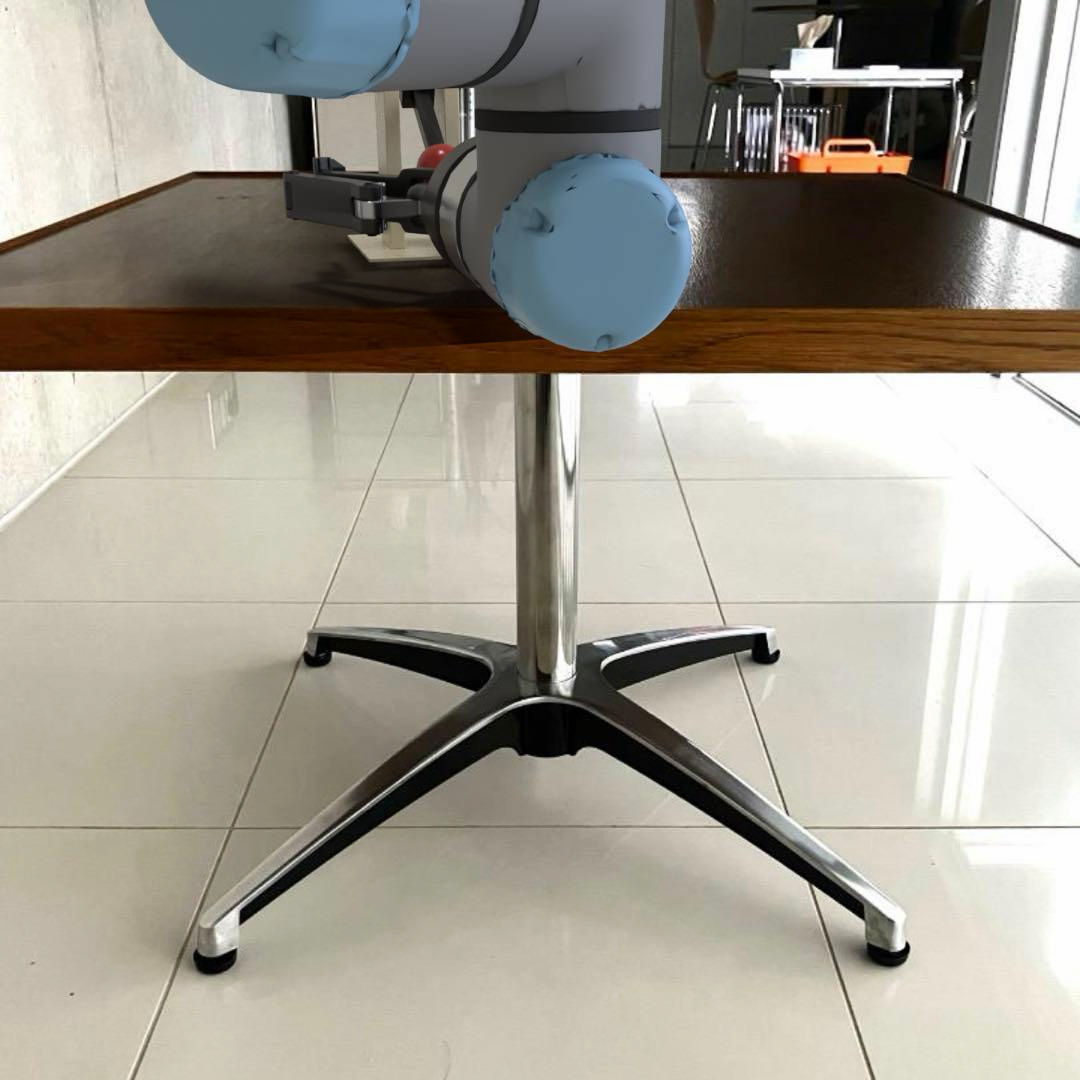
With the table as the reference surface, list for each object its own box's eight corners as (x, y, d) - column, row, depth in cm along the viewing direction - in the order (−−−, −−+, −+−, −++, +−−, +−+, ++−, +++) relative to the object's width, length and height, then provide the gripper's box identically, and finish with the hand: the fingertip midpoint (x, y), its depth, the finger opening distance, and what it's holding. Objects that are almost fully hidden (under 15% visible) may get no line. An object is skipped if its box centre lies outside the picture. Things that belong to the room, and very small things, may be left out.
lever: (469, 206, 77) (474, 163, 74) (419, 208, 76) (422, 164, 73) (433, 90, 84) (436, 47, 82) (387, 90, 83) (389, 47, 81)
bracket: (504, 272, 82) (500, 51, 77) (370, 278, 80) (357, 51, 75) (467, 247, 93) (462, 52, 88) (348, 252, 91) (336, 52, 85)
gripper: (260, 306, 58) (242, 245, 77) (742, 282, 64) (614, 230, 83) (246, 141, 55) (231, 120, 75) (750, 131, 61) (617, 114, 81)
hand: (433, 178), depth 79 cm, fingers open, 13 cm apart
